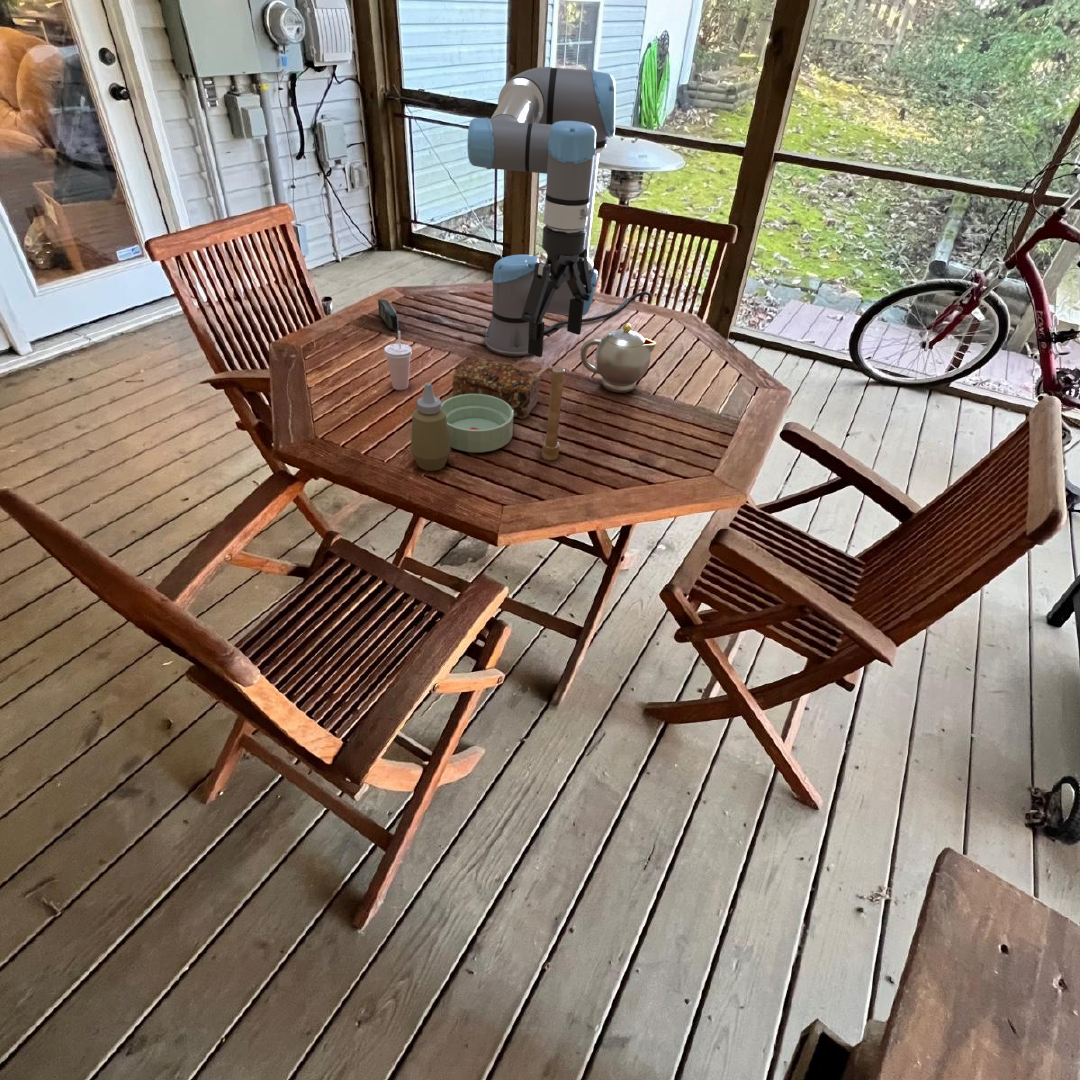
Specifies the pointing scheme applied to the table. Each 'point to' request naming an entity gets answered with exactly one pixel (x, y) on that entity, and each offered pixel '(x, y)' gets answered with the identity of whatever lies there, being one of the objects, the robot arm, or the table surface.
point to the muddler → (553, 415)
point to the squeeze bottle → (430, 432)
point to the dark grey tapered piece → (388, 314)
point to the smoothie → (398, 363)
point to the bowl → (478, 422)
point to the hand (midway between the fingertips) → (554, 343)
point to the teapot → (620, 358)
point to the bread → (498, 383)
